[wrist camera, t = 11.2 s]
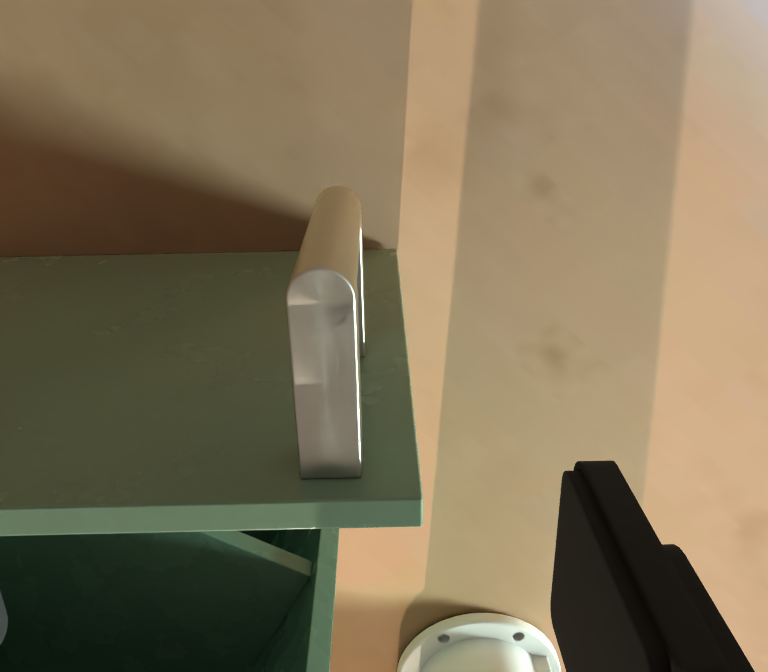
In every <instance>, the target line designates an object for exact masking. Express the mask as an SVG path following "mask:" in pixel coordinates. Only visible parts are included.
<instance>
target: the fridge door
mask: <svg viewBox="0 0 768 672" xmlns="http://www.w3.org/2000/svg"><path fill="white" fill-rule="evenodd" d="M361 210H362V208H361V203H360V200H359V198H358V197H357V195H356V194H355V193H354V192H353V191H352V190H350V189H348V188H346V187H342V186H333V187H330V188H327V189H325V190H324V191H323V192H322V193H321V194H320V195H319V196H318V198H317V200H316V203H315V206H314V209H313V212H312V215H311V218H310V221H309V224H308V227H307V230H306V233H305V236H304V239H303V242H302V246H301V249H300V251H280V252H232V253H184V254H135V255H87V256H39V257H0V536H22V535H66V534H110V533H154V532H197V531H241V530H285V529H329V528H373V527H416V526H422V524H423V495H422V486H421V476H420V467H419V457H418V447H417V438H416V428H415V419H414V409H413V399H412V390H411V380H410V371H409V361H408V351H407V342H406V332H405V323H404V313H403V304H402V294H401V284H400V275H399V265H398V256H397V250H396V249H377V250H363V240H362V211H361Z"/></svg>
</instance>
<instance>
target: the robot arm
mask: <svg viewBox="0 0 768 672" xmlns="http://www.w3.org/2000/svg"><path fill="white" fill-rule="evenodd" d="M551 619H552V624H553V628H554V632H555V635H556V638H557V642H558V645H559V648H560V652H561V655H562V658H563V662H564V665H565V668H566V672H755V671H754V670H753V668H752V666H751V665H750V663H749V661H748V660H747V658H746V656H745V655H744V653H743V651H742V650H741V648H740V646H739V645H738V643H737V641H736V640H735V638H734V636H733V634H732V633H731V631H730V629H729V628H728V626H727V624H726V623H725V621H724V619H723V618H722V616H721V614H720V613H719V611H718V609H717V608H716V606H715V604H714V603H713V601H712V599H711V598H710V596H709V594H708V593H707V591H706V589H705V587H704V586H703V584H702V582H701V581H700V579H699V577H698V576H697V574H696V572H695V571H694V569H693V567H692V566H691V564H690V562H689V561H688V559H687V557H686V556H685V554H684V553H683V551H682V550H681V549H680V548H679V547H678V546H676V545H674V544H668V545H662V544H661V542H660V541H659V539H658V537H657V535H656V534H655V532H654V530H653V528H652V526H651V525H650V523H649V521H648V519H647V517H646V516H645V514H644V512H643V510H642V509H641V507H640V505H639V503H638V501H637V500H636V498H635V496H634V494H633V493H632V491H631V489H630V487H629V485H628V484H627V482H626V480H625V478H624V477H623V475H622V473H621V471H620V469H619V468H618V466H617V464H616V463H615V462H614V461H578V462H577V463H576V464H575V467H574V471H565V472H564V473H563V476H562V485H561V495H560V506H559V517H558V528H557V539H556V549H555V560H554V571H553V582H552V592H551ZM7 626H8V616H7V612H6V608H5V605H4V601H3V598H2V595H1V591H0V645H1V643H2V641H3V639H4V637H5V635H6V631H7ZM397 672H561V668H560V664H559V660H558V657H557V653H556V651H555V649H554V647H553V645H552V644H551V642H550V641H549V640H548V638H547V637H546V636H545V635H544V634H543V633H542V632H541V631H539V630H538V629H537V628H535V627H534V626H532V625H531V624H529V623H527V622H525V621H522V620H520V619H518V618H514V617H511V616H507V615H503V614H495V613H470V614H464V615H459V616H454V617H451V618H448V619H445V620H442V621H440V622H438V623H436V624H434V625H432V626H430V627H428V628H427V629H425V630H424V631H423V632H421V633H420V634H419V635H417V636H416V637H415V638H414V639H413V640H412V641H411V642H410V644H409V645H408V646H407V647H406V649H405V651H404V652H403V654H402V656H401V658H400V661H399V664H398V667H397Z"/></svg>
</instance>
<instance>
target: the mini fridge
mask: <svg viewBox="0 0 768 672" xmlns="http://www.w3.org/2000/svg"><path fill="white" fill-rule="evenodd" d="M338 539H339V528H329V529H285V530H241V531H197V532H154V533H110V534H66V535H22V536H0V591H1V595H2V598H3V601H4V605H5V608H6V612H7V616H8V626H7V631H6V635H5V637H4V639H3V641H2V643H1V645H0V672H329V671H330V656H331V642H332V627H333V612H334V598H335V583H336V568H337V554H338Z"/></svg>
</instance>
